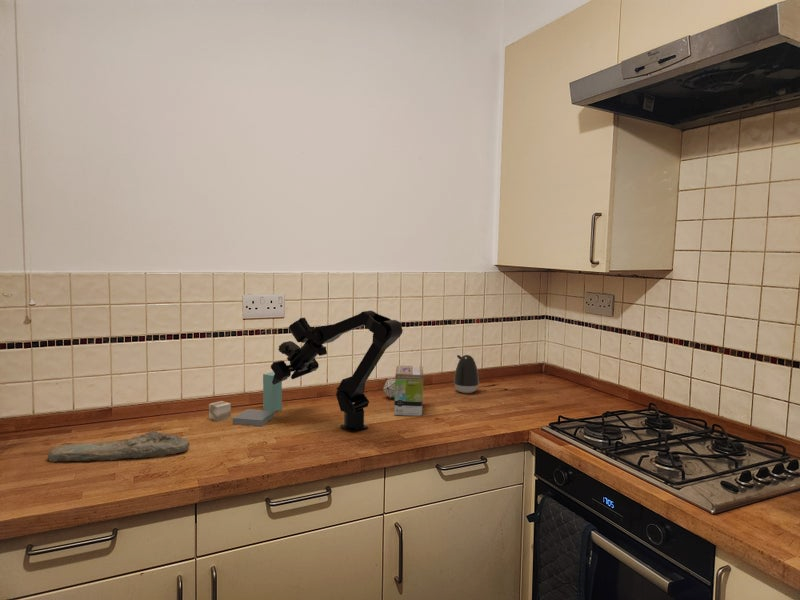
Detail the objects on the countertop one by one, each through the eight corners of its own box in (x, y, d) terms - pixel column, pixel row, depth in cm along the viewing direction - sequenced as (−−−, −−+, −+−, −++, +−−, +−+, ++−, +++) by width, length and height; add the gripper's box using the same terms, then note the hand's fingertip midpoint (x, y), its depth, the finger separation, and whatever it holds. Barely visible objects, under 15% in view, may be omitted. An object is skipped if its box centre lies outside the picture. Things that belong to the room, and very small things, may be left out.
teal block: (281, 409, 187) (281, 373, 186) (272, 412, 183) (272, 375, 182) (272, 407, 190) (272, 371, 188) (263, 410, 186) (263, 374, 185)
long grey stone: (58, 457, 146) (42, 473, 136) (55, 439, 145) (39, 454, 135) (192, 442, 153) (186, 457, 143) (191, 425, 152) (184, 438, 143)
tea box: (422, 416, 182) (423, 374, 181) (393, 415, 182) (394, 373, 181) (422, 404, 197) (422, 364, 196) (395, 403, 197) (395, 364, 196)
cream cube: (230, 418, 177) (230, 403, 177) (217, 421, 173) (217, 406, 173) (222, 415, 180) (222, 400, 180) (209, 418, 176) (208, 403, 176)
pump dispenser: (465, 387, 223) (466, 351, 222) (483, 392, 215) (485, 355, 214) (448, 390, 217) (448, 354, 215) (466, 396, 209) (467, 358, 207)
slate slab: (274, 418, 179) (274, 411, 179) (261, 427, 169) (261, 420, 169) (247, 416, 181) (247, 409, 180) (232, 425, 171) (232, 418, 171)
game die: (397, 408, 204) (405, 391, 198) (376, 400, 203) (384, 383, 198) (402, 392, 211) (409, 375, 205) (382, 384, 211) (389, 367, 205)
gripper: (312, 331, 187) (288, 358, 194) (274, 338, 171) (250, 367, 178) (329, 355, 184) (305, 382, 190) (293, 365, 168) (267, 394, 174)
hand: (282, 380), depth 183 cm, fingers open, 9 cm apart
